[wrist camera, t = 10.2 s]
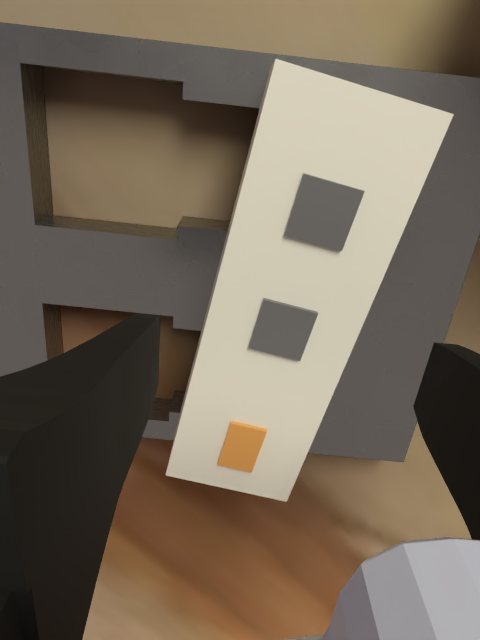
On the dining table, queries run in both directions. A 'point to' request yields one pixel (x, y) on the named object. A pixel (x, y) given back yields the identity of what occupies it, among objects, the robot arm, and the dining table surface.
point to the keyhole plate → (225, 229)
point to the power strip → (298, 273)
